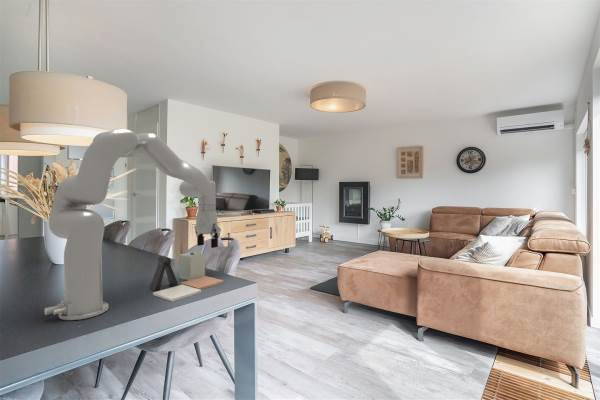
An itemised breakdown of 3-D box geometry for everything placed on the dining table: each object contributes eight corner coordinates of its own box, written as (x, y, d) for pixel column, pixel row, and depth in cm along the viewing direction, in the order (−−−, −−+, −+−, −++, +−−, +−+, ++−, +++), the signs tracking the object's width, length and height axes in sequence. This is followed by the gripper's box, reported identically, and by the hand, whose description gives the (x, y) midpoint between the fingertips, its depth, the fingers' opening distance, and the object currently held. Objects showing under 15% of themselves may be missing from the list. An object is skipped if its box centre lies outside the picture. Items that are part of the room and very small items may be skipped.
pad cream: (171, 301, 105) (171, 299, 105) (152, 294, 112) (152, 292, 112) (201, 292, 115) (201, 290, 115) (182, 286, 122) (182, 284, 122)
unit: (190, 280, 130) (190, 255, 129) (179, 277, 134) (179, 253, 134) (205, 277, 136) (205, 252, 135) (194, 274, 140) (194, 250, 140)
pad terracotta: (199, 290, 118) (199, 288, 118) (180, 284, 125) (180, 282, 125) (224, 282, 127) (224, 280, 127) (205, 277, 134) (205, 275, 134)
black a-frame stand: (154, 292, 115) (153, 259, 115) (149, 288, 120) (149, 257, 120) (179, 287, 121) (178, 256, 121) (174, 284, 126) (173, 254, 125)
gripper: (188, 208, 143) (188, 245, 143) (212, 209, 132) (213, 249, 133) (202, 207, 149) (202, 243, 149) (226, 208, 139) (226, 247, 139)
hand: (207, 246), depth 141 cm, fingers open, 9 cm apart
